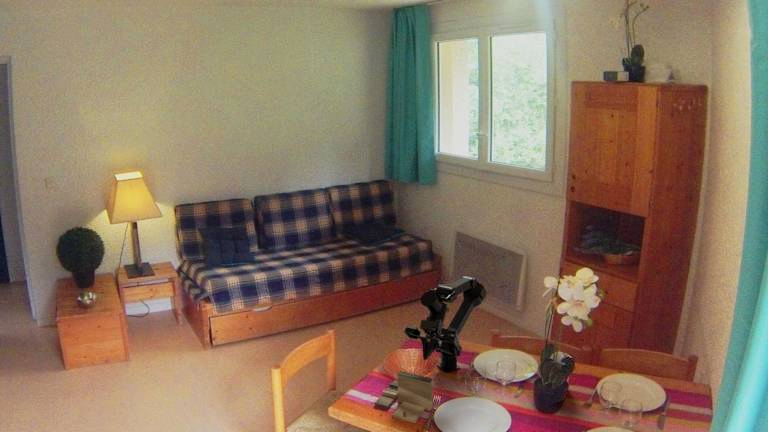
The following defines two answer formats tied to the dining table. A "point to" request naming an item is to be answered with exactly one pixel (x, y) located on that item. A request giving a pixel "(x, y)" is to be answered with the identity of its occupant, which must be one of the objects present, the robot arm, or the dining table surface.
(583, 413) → the dining table surface
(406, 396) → the beige stand
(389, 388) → the board
